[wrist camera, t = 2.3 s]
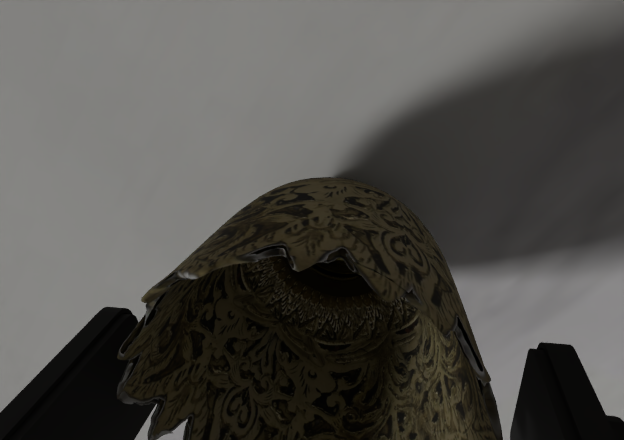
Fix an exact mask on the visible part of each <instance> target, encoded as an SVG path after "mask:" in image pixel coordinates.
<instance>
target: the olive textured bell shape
mask: <svg viewBox="0 0 624 440" xmlns="http://www.w3.org/2000/svg"><path fill="white" fill-rule="evenodd" d="M141 301H142V302H144V303H147V304H146V308H147V311H146V314H145V315H144V317H143V318H142V319H141V321H140V322H138V323H137V326H136V327H135V329H134V330H133V331H132V332H131V334H130V335H129V337H128V338H127V339H126V340H125V341H124V343H123V344H122V346H121V347H120V349H119V352H118V356H117V358H118V359H120V360H129V362H128V364H127V366H126V369H125V371H124V374H123V376H122V378H121V381H120V382H119V384H118V389H117V399H119V400H120V401H122V402H123V403H127V404H133V402H135V403H136V402H138V403H137V404H139V405H141V406H142V405H143V404H145V405H147V404H148V405H149V404H150V403H154V404H157V407H156V410H155V411H154V413H153V415H152V417H151V425H150V428H149V431H148V440H156V439H158V438H160V437H161V436H163V435H165V434H168V433H173V432H172V431H173V430H175V429H176V428H177V427H178V426H179V425H180V424H181V423H182V422H183V421H185V420H186V419H188V421H187V422H186V426H185V431H184V435H183V440H503V437H502V430H501V424H500V419H499V414H498V410H497V405H496V400H495V397H494V395H493V392H492V389H491V386H490V383H489V382H490V381H491V378H490V376H489V374H488V372H487V370H486V368H485V366H484V364H483V361H482V358H481V355H480V352H479V349H478V347H477V344H476V341H475V338H474V335H473V332H472V329H471V327H470V324H469V321H468V318H467V315H466V312H465V310H464V307H463V304H462V301H461V299H460V296H459V293H458V291H457V288H456V285H455V283H454V280H453V278H452V275H451V273H450V270H449V268H448V266H447V263H446V261H445V258H444V257H443V255H442V253H441V251H440V249H439V247H438V245H437V244H436V242H435V240H434V238H433V237H432V235H431V234H430V233H429V231H428V230H427V229H426V227H425V226H424V225H423V223H422V222H421V221H420V219H419V218H418V217H417V216H416V215H415V214H414V213H413V212H412V211H411V210H410V209H408V208H407V207H406V206H405V205H404V204H402V203H401V202H400V201H398V200H397V199H395V198H394V197H392V196H390V195H389V194H387V193H385V192H383V191H381V190H379V189H377V188H375V187H373V186H370V185H368V184H365V183H361V182H358V181H354V180H349V179H343V178H331V177H326V178H310V179H303V180H298V181H295V182H291V183H288V184H285V185H282V186H280V187H277V188H275V189H273V190H271V191H269V192H267V193H266V194H264V195H262V196H260V197H258V198H257V199H256V200H254V201H253V202H251V203H250V204H248V205H247V206H246V207H244V208H243V209H241V210H240V211H239V212H238V213H236V214H235V215H234V216H233V217H232V218H230V219H229V220H228V221H227V222H226V223H225V224H224V225H222V226H221V227H220V228H219V229H218V230H217V231H216V232H215V233H214V234H213V235H211V236H210V237H209V238H208V239H207V240H206V241H205V242H204V243H203V244H202V245H201V246H200V247H198V248H197V249H196V250H195V251H194V252H193V253H192V254H191V255H190V256H189V257H188V258H187V259H186V260H184V261H183V262H182V263H181V264H180V265H179V266H178V267H177V268H176V269H175V270H174V271H172V272H171V273H170V274H169V275H168V276H167V277H165V278H164V279H163V280H161V281H160V282H159V283H157V284H156V285H155V286H153V287H152V288H151V289H150V290H149V291H148V292H147V293H146V294H145V295H144V296H143V297H142V300H141ZM153 399H157V400H158V401H157V400H153Z"/></svg>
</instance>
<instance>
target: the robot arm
mask: <svg viewBox="0 0 624 440" xmlns="http://www.w3.org/2000/svg"><path fill="white" fill-rule="evenodd" d="M137 323H138V320H137V318H136V316H134V315H133V314H132V312H131V311H130V310H129V309H126V308H114V307H105V308H103V309H102V310H100V311H99V312H98V313H97V314H96V315H95V316H94V317H93V318H92V319H91V320H90V321H89V323H88V324H87V325H86V326H85V327H84V328H83V329H82V330H81V331H80V332H79V333H78V334H77V335H76V336H75V337H74V338H73V339H72V340H71V341H70V342H69V343H68V344H67V345H66V346H65V347H64V348H63V349H62V350H61V351H60V352H59V353H58V354H57V355H56V356H55V357H54V358H53V359H52V360H51V361H50V362H49V363H48V364H47V366H46V367H45V368H44V369H43V370H42V371H41V372H40V373H39V374H38V375H37V376H36V377H35V378H34V379H33V380H32V381H31V382H30V383H29V384H28V385H27V386H26V387H25V388H24V389H23V390H22V391H21V392H20V393H19V394H18V395H17V396H16V397H15V398H14V399H13V400H12V401H11V402H10V403H9V404H8V405H7V406H6V407H5V408H4V410H3V411H2V412H1V413H0V440H134V439H135V437H136V436H137V434H138V433H139V431H140V429H141V428H142V426H143V424H144V423H145V421H146V420H147V418H148V416H149V415H150V413H151V411H152V410H153V408H154V407H155V405H156V404H154V403H150V404H149V405H148V404H147V405H145V404H143V405H142V406H141V405H139V404H137V403H138V402H136V403H135V402H133V404H127V403H123V402H122V401H120V400H119V399H117V389H118V384H119V382H120V381H121V378H122V376H123V374H124V371H125V369H126V366H127V364H128V362H129V360H120V359H118V358H117V356H118V352H119V349H120V347H121V346H122V344H123V343H124V341H125V340H126V339H127V338H128V337H129V335H130V334H131V332H132V331H133V330H134V329H135V327H136V326H137ZM153 400H157V399H153ZM157 401H158V400H157ZM510 440H624V421H622V420H621V419H620V418H618V417H615V416H607V415H605V412H604V410H603V408H602V406H601V404H600V402H599V400H598V398H597V395H596V393H595V391H594V389H593V387H592V385H591V383H590V381H589V378H588V376H587V374H586V372H585V370H584V368H583V366H582V364H581V362H580V359H579V357H578V355H577V353H576V351H575V349H574V348H573V346H571V345H567V344H554V343H540V344H539V345H538V348H537V349H529V351H528V354H527V359H526V363H525V368H524V372H523V377H522V381H521V386H520V390H519V395H518V399H517V404H516V408H515V413H514V417H513V422H512V426H511V432H510Z"/></svg>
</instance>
